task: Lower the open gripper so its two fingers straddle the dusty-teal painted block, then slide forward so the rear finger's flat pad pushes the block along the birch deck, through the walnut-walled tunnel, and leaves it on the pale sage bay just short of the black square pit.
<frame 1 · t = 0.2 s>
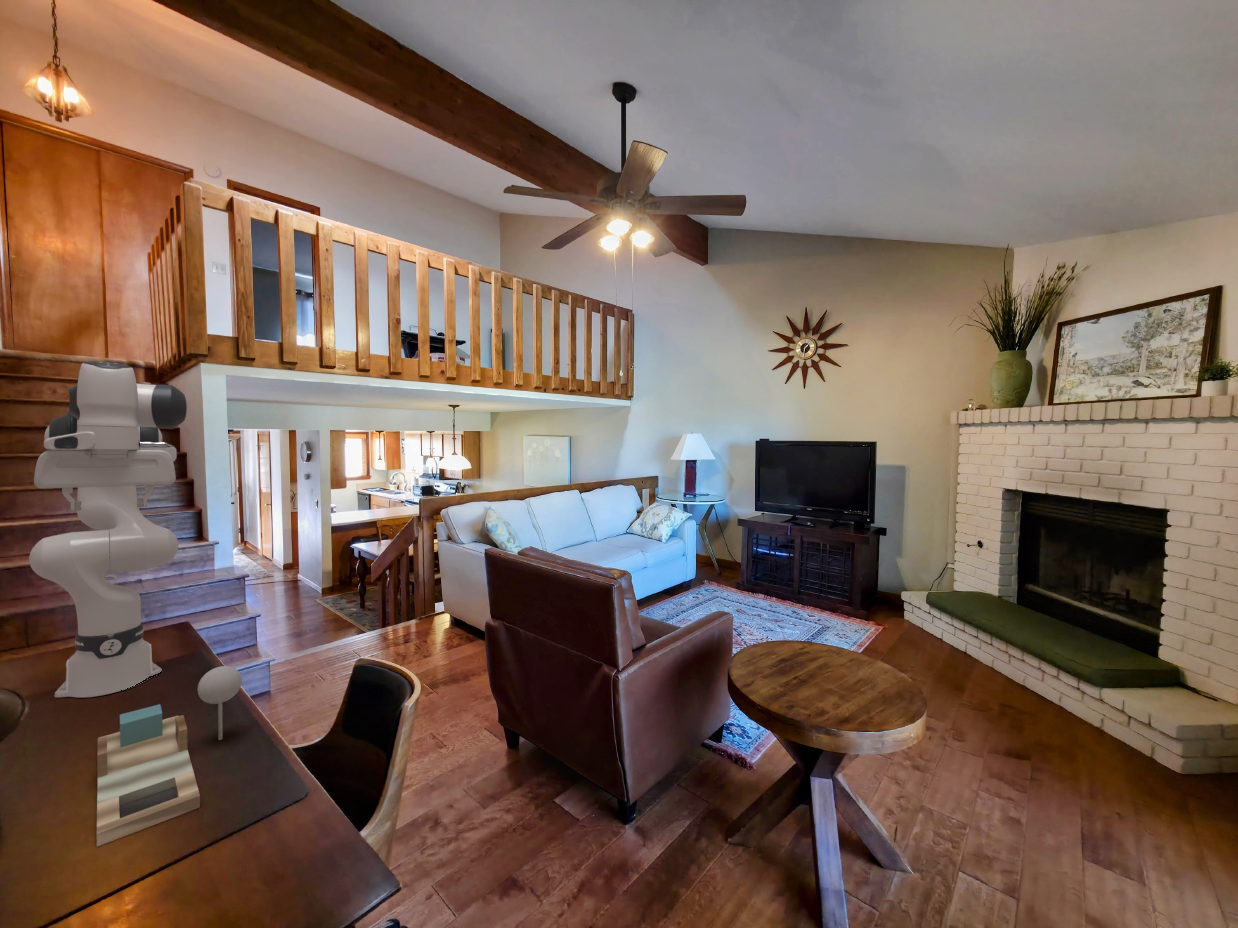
hand: (110, 508, 103), 47 cm above the table, fingers open, 8 cm apart
block: (141, 735, 101), point 2 cm above the table, touching deck
lollipop: (220, 740, 103), on the table
deck: (144, 774, 92), on the table
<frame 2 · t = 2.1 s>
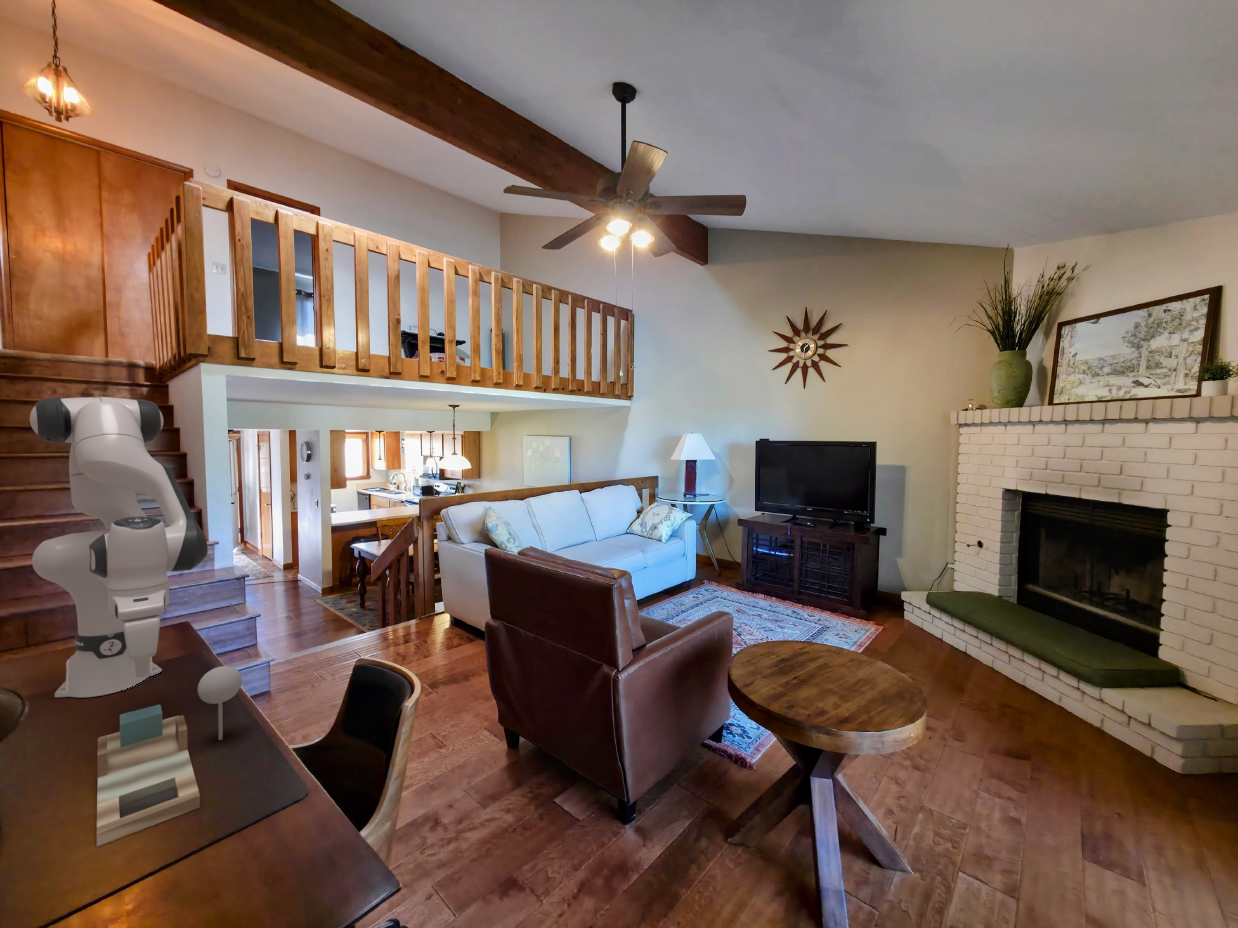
hand: (140, 668, 100), 16 cm above the table, fingers open, 8 cm apart
nothing on the table moved.
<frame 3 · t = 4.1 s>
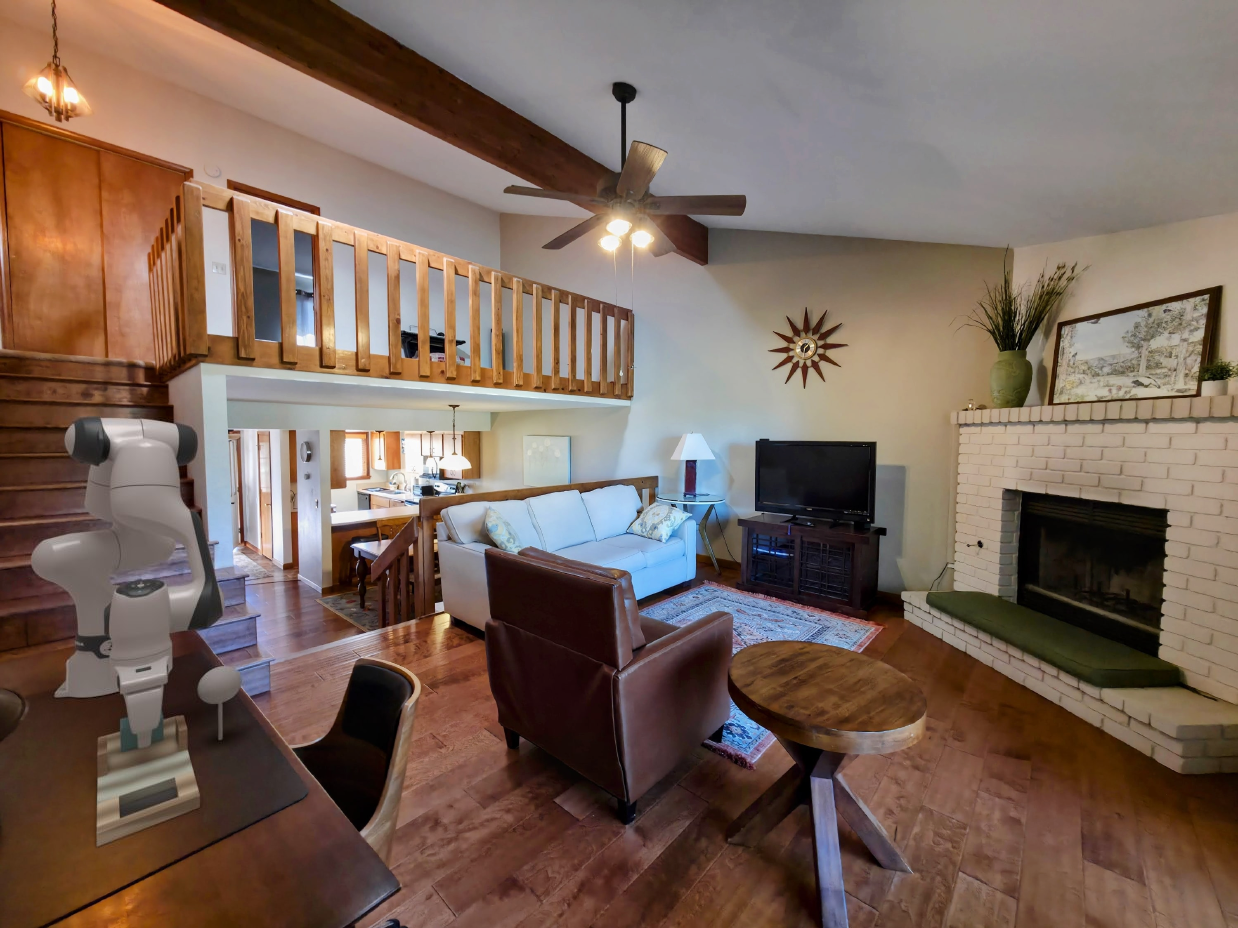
hand: (143, 735, 98), 4 cm above the table, fingers open, 8 cm apart
block: (142, 740, 99), point 2 cm above the table, touching gripper
everything else where it was.
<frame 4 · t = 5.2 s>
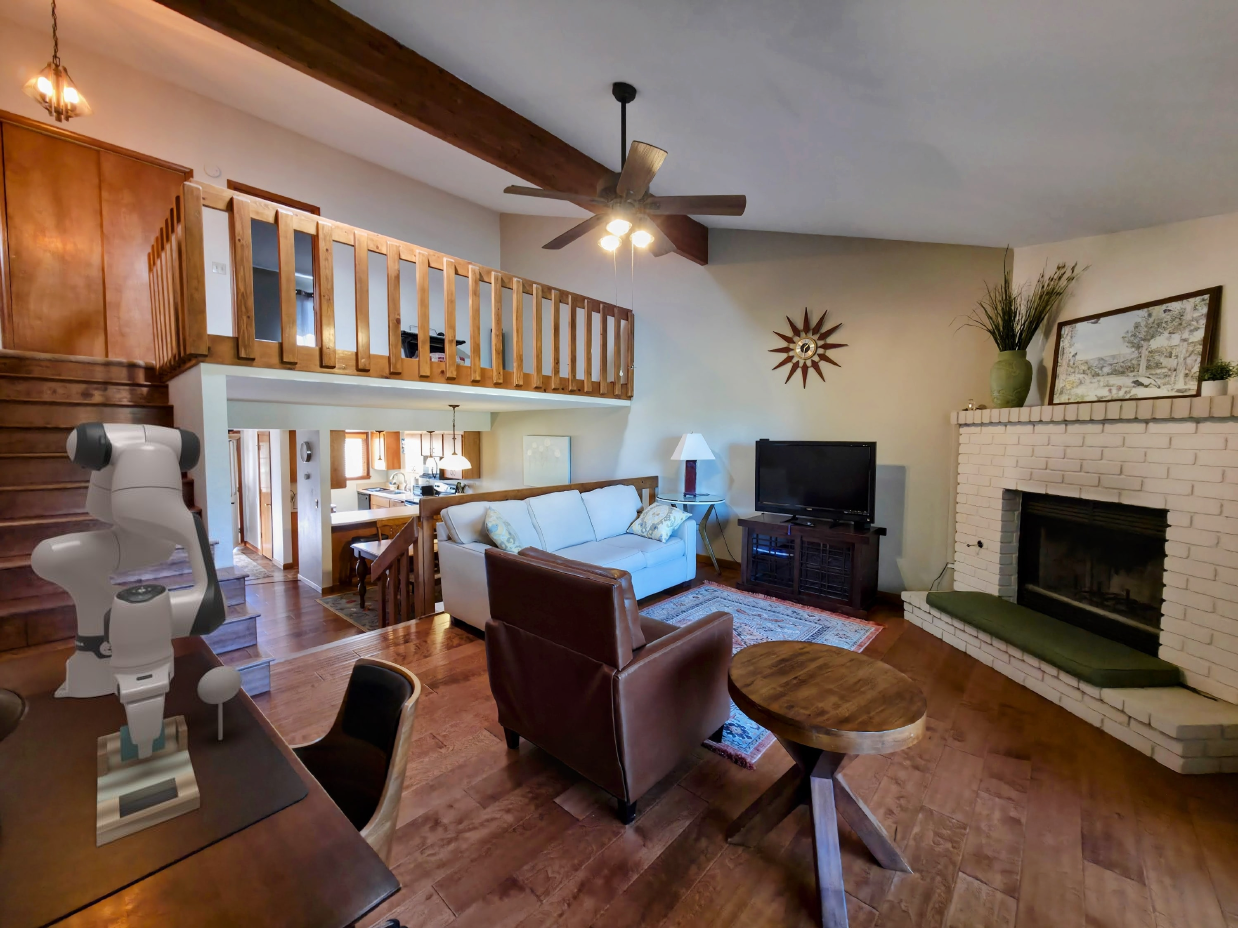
hand: (143, 744, 95), 3 cm above the table, fingers open, 8 cm apart
block: (142, 749, 96), point 2 cm above the table, touching gripper
everything else where it was.
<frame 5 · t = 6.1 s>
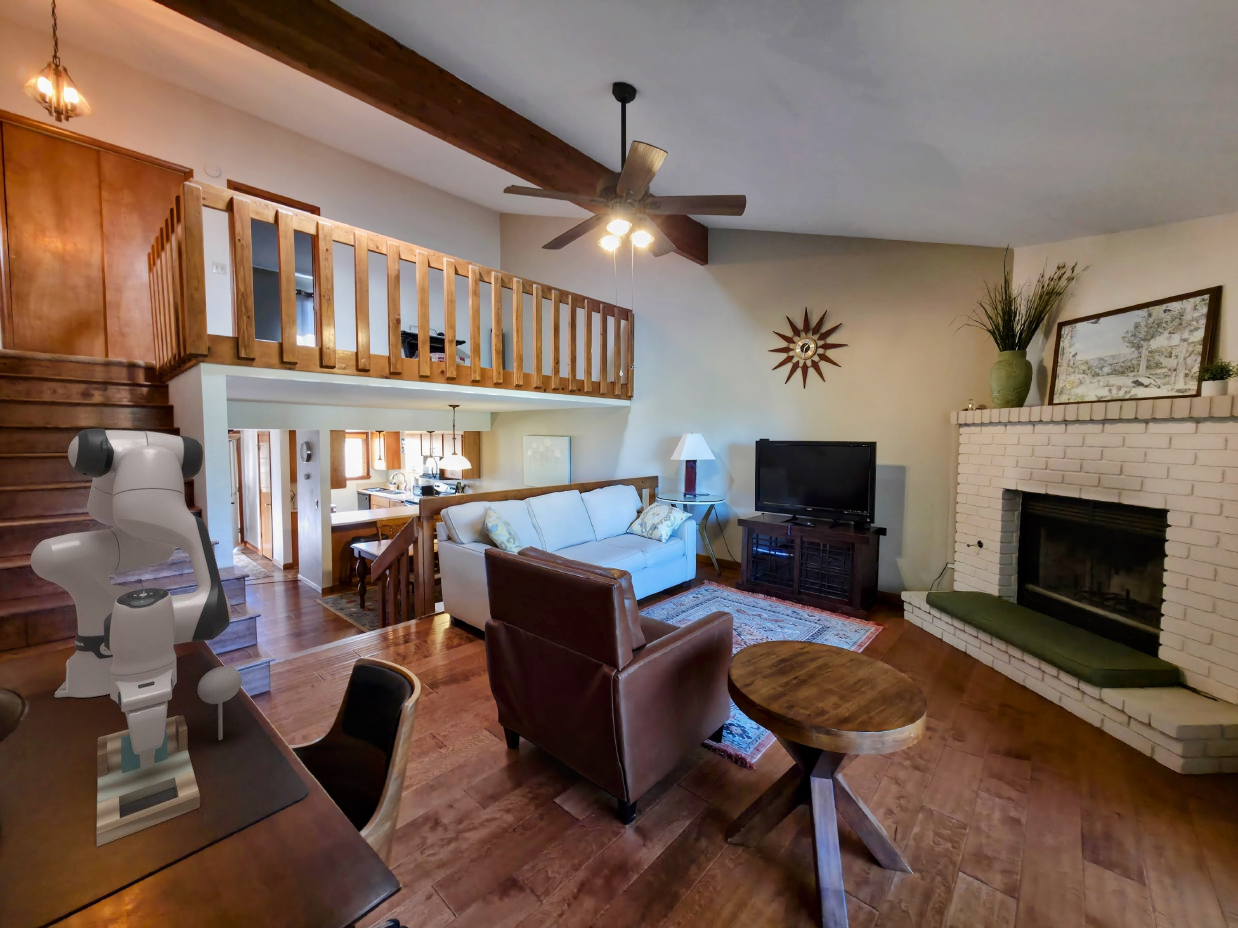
hand: (145, 754, 92), 4 cm above the table, fingers open, 8 cm apart
block: (144, 759, 93), point 2 cm above the table, touching gripper
everything else where it was.
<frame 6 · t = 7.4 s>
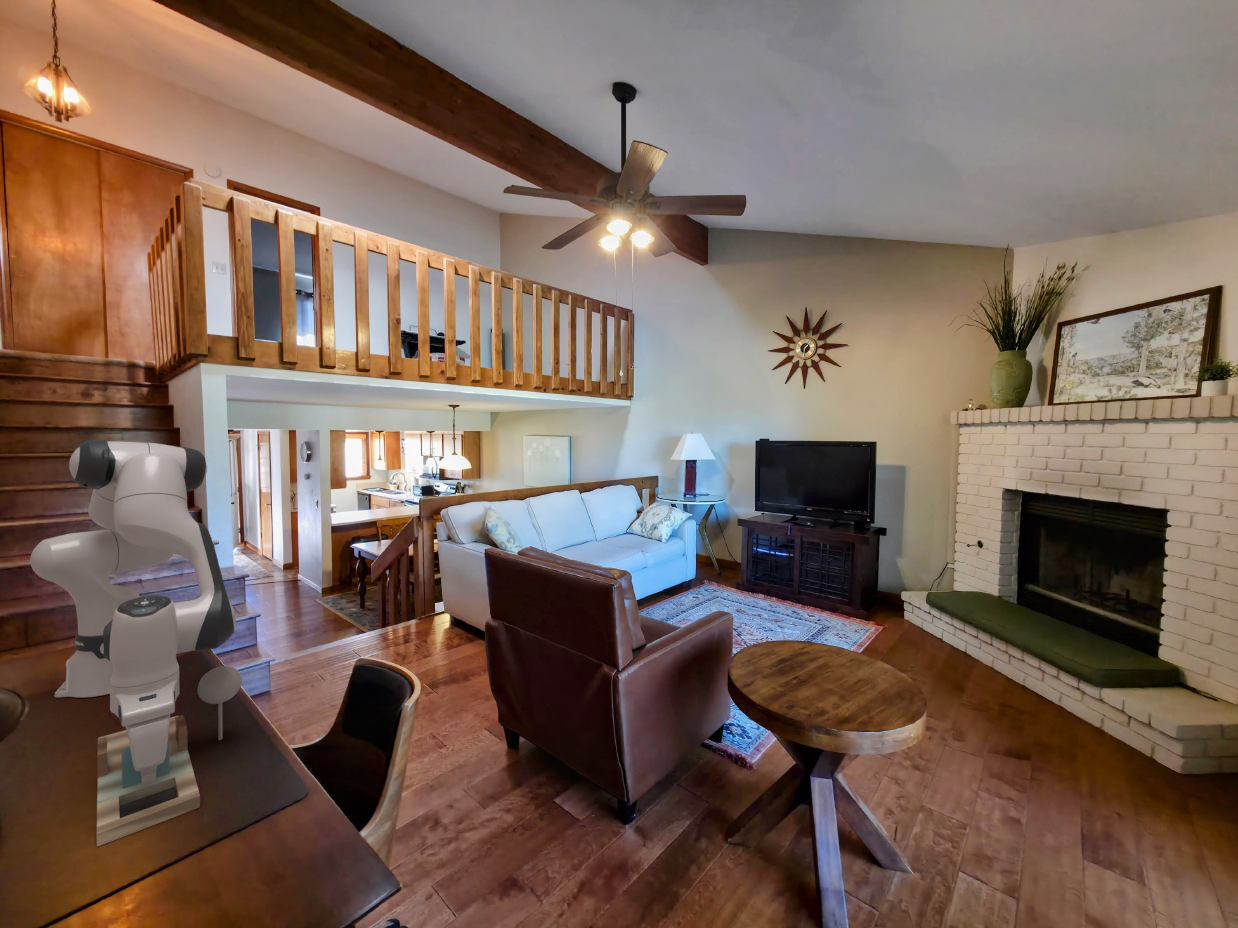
hand: (146, 769, 88), 3 cm above the table, fingers open, 8 cm apart
block: (145, 773, 89), point 2 cm above the table, touching deck, gripper
everything else where it was.
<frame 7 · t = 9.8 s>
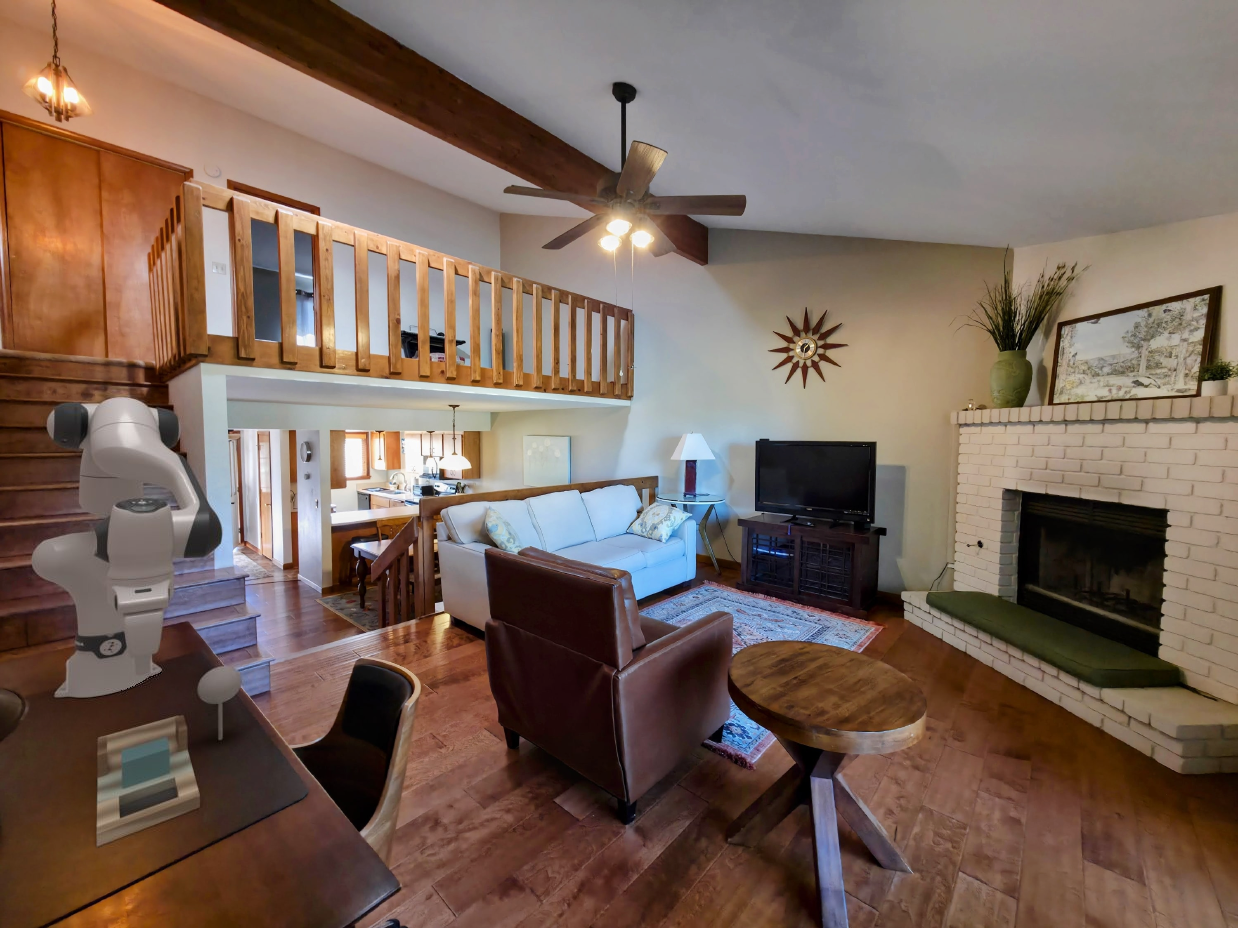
hand: (141, 663, 91), 21 cm above the table, fingers open, 8 cm apart
block: (145, 774, 89), point 2 cm above the table, touching deck
everything else where it was.
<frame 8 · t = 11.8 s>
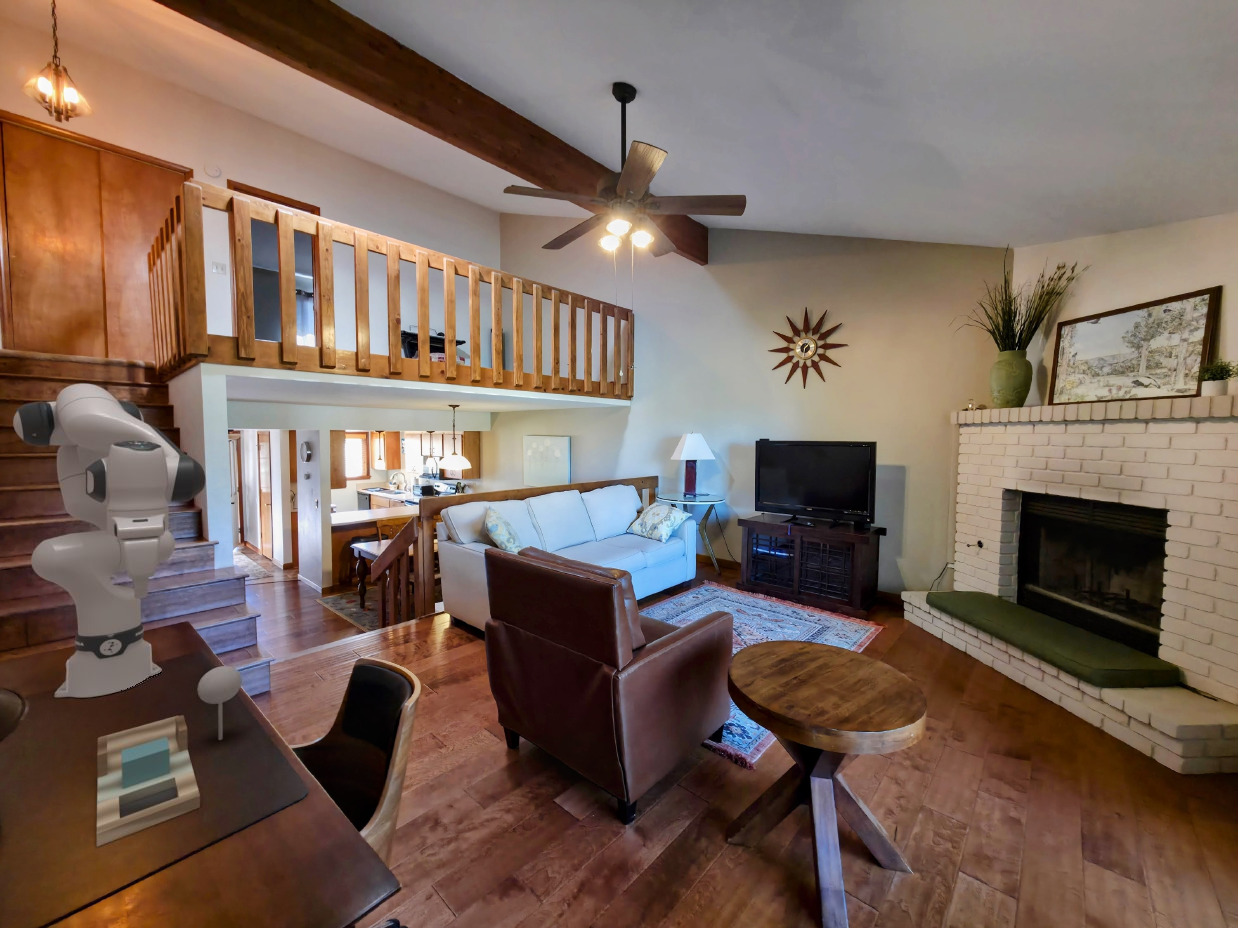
hand: (139, 592, 100), 31 cm above the table, fingers open, 8 cm apart
nothing on the table moved.
at the end: block inside the target area (0.2 cm from its centre), point 2.0 cm above the table; block tilted 0° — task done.
